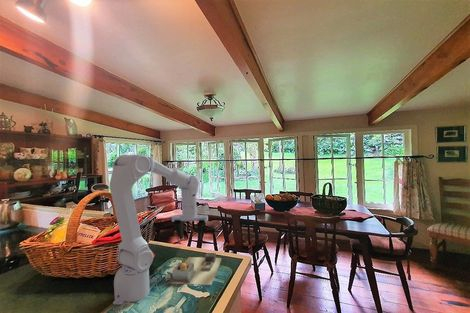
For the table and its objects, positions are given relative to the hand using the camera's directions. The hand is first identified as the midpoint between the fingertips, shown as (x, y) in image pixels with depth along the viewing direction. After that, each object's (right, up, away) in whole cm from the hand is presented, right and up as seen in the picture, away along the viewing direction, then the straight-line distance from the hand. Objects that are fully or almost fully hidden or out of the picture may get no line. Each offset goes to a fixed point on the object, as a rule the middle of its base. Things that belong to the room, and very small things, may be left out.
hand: (190, 238), depth 88 cm
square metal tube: (0, -8, -12) cm, 14 cm away
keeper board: (+4, -9, -7) cm, 13 cm away
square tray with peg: (0, -10, -12) cm, 15 cm away
